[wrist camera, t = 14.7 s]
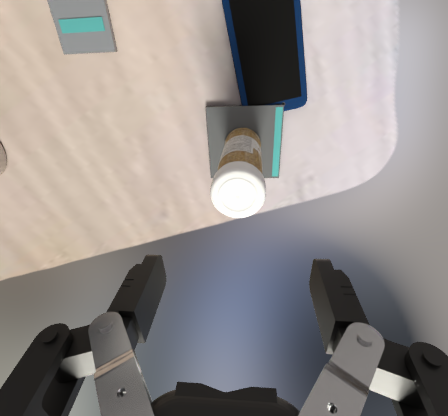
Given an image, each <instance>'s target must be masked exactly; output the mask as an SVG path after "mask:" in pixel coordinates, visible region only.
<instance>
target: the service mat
mask: <svg viewBox="0 0 448 416" xmlns="http://www.w3.org/2000/svg"><path fill="white" fill-rule="evenodd" d="M283 112H284V105H257V106H242V105H239V106H206V119H207V132H208V145H209V158H210V172H211V178H214V175H215V174H216V172H217V171H218V165H219V162H220V158H221V155H222V152H223V149H224V146H225V140H226V138H227V136H228V135H229V134H230V133H231V132H232V131H233V130H235V129H238V128H248V129H250V130H252V131H254V132H255V133H256V134H257V135H258V136H259V139H260V142H261V156H262V175H263V177H264V178H279V168H280V154H281V140H282V126H283Z"/></svg>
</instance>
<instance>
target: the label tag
mask: <svg viewBox="0 0 448 416" xmlns="http://www.w3.org/2000/svg"><path fill="white" fill-rule="evenodd" d="M47 1H48V4H49V7H50V10H51V14H52V17H53V20H54V23H55V27H56V30H57V33H58V36H59V39H60V43H61V46H62V49H63V52H64V54H82V53H101V52H117V47H116V43H115V38H114V34H113V29H112V24H111V20H110V15H109V11H108V6H107V2H106V0H47Z"/></svg>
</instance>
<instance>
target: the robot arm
mask: <svg viewBox="0 0 448 416" xmlns="http://www.w3.org/2000/svg"><path fill="white" fill-rule="evenodd" d="M6 162H7V160H6V154H5V151H4V149H3V147H2V145H1V143H0V174H2V173H3V172H4V170H5V168H6ZM165 285H166V273H165V268H164V264H163V260H162V256H161V255H146V256H145V258H144V260H143V262H142V264H136V265H135V266H134V267H133V268H132V269H131V270H129V272H128V274H127V276H126V278H125V280H124V281H123V283H122V285H121V287H120V288H119V290H118V292H117V294H116V296H115V298H114V299H113V301H112V303H111V305H110V307H109V309H108V310H107V312H106V313H103V314H101V315H100V316H98V317H97V318H95V319H94V320H93V322H92V323H91V324H90V325H87V326H84V327H80V328H75V329H71V330H69V328H68V326H67V325H65V324H61V323H59V324H54V325H51V326H49V327H47V328H45V329H44V330H43V331H41V332H40V333H39V334H38V335H37V336H36V338H35V339H34V340H33V342H32V343H31V345H30V347H29V348H28V349H27V351H26V352H25V354H24V355H23V356H22V358H21V359H20V361H19V362H18V364H17V365H16V367H15V368H14V370H13V371H12V373H11V374H10V376H9V377H8V378H7V380H6V381H5V383H4V384H3V386H2V387H1V389H0V416H68V415H69V413H70V411H71V408H72V406H73V404H74V402H75V399H76V397H77V395H78V393H79V390H80V388H81V386H82V383H83V381H84V379H85V377H86V376H88V375H91V374H94V380H95V385H96V391H97V396H98V402H99V407H100V412H101V416H360V414H361V412H362V409H363V406H364V404H365V401H366V398H367V395H368V392H369V390H372V391H374V392H377V393H379V394H382V395H384V396H387V397H389V398H391V399H392V402H393V405H394V408H395V411H396V413H397V416H448V356H447V355H446V354H445V353H444V352H443V351H441V350H440V349H438V348H437V347H435V346H433V345H431V344H428V343H424V342H416V343H413V344H412V345H411V346H410V348H409V347H406V346H403V345H400V344H397V343H394V342H391V341H388V340H386V339H384V338H383V337H382V336H381V335H380V333H379V332H378V331H377V330H376V329H374V328H373V327H371V326H370V325H369V323H368V320H367V318H366V316H365V314H364V312H363V309H362V307H361V305H360V303H359V300H358V298H357V296H356V293H355V291H354V289H353V287H352V284H351V282H350V280H349V278H348V277H347V276H346V275H345V274H344V273H343V272H342V271H341V270H334V269H333V266H332V263H331V261H330V260H329V259H314V260H313V264H312V269H311V275H310V281H309V285H310V293H311V297H312V301H313V305H314V309H315V313H316V317H317V321H318V324H319V328H320V332H321V336H322V340H323V344H324V348H325V352H326V354H333V356H332V358H331V359H330V361H329V363H327V364H326V365H325V367H324V368H323V370H322V372H321V374H320V376H319V378H318V379H317V381H316V383H315V385H314V387H313V389H312V391H311V393H310V394H309V396H308V398H307V400H306V402H305V404H304V405H303V407H302V409H301V411H299V410H298V409H297V408H296V407H294V406H293V405H292V404H290V403H288V402H287V401H285V400H284V399H282V398H279V397H277V393H276V389H275V388H259V387H249V388H244V389H240V390H235V391H231V392H222V391H219V390H217V389H214V388H211V387H209V386H206V385H204V384H201V383H187V382H177V386H176V390H173V391H170V392H167V393H165V394H163V395H162V396H160V397H158V398H157V399H155V400H154V401H153V402H152V400H151V397H150V394H149V391H148V389H147V386H146V383H145V380H144V378H143V374H142V372H141V368H140V366H139V363H138V360H137V357H136V354H135V351H134V350H135V347H136V345H137V343H145V342H146V339H147V336H148V333H149V331H150V328H151V325H152V322H153V319H154V316H155V314H156V310H157V308H158V305H159V302H160V300H161V297H162V294H163V291H164V288H165Z"/></svg>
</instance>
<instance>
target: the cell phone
mask: <svg viewBox="0 0 448 416" xmlns="http://www.w3.org/2000/svg"><path fill="white" fill-rule="evenodd" d="M222 4H223V9H224V15H225V20H226V25H227V30H228V35H229V40H230V46H231V51H232V56H233V61H234V66H235V72H236V77H237V82H238V87H239V92H240V97H241V103H242V106H257V105H284V111H287V110H291V109H296V108H299V107H302V106H304V105H305V104H306V101H307V88H306V74H305V60H304V47H303V33H302V19H301V5H300V0H222Z"/></svg>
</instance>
